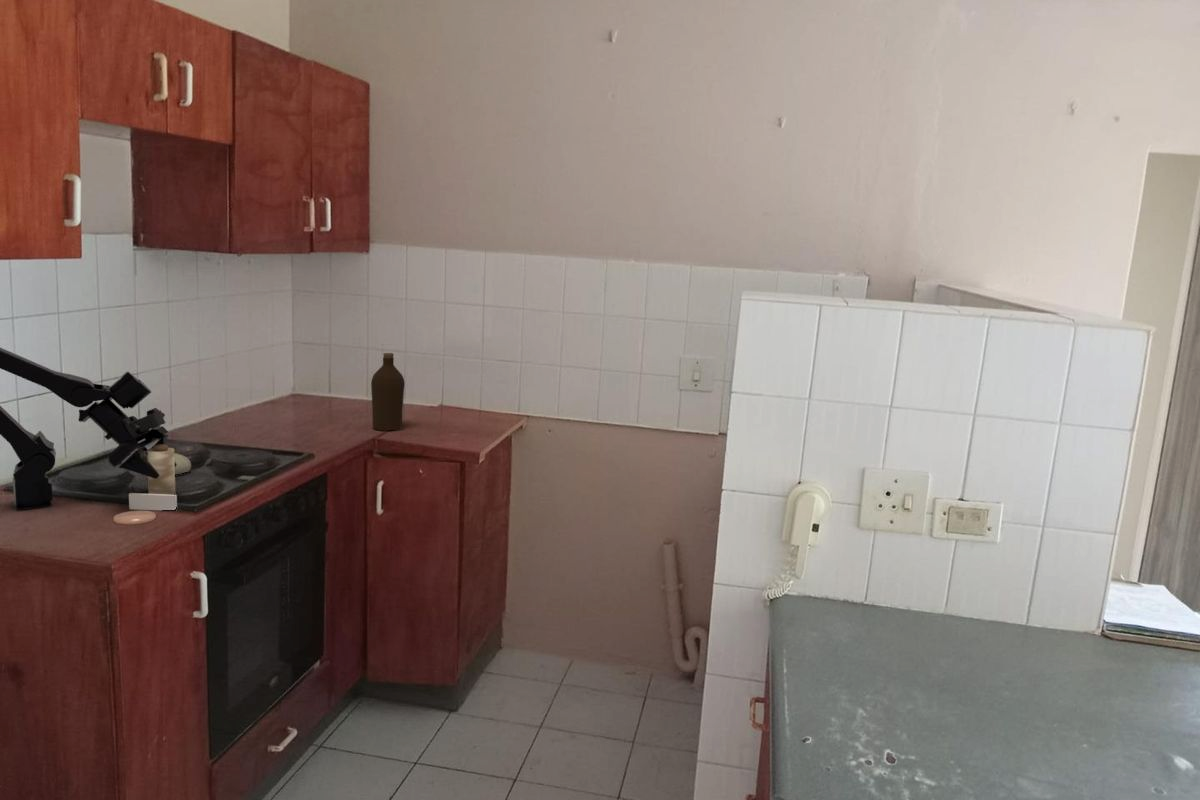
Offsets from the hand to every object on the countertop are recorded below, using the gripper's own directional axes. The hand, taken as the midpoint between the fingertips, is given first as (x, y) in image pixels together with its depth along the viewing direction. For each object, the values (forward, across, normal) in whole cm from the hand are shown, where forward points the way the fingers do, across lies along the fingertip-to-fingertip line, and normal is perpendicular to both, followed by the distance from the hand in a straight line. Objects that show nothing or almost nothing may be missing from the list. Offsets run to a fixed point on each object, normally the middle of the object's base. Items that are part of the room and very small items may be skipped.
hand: (166, 472), depth 201 cm
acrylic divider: (+5, -7, +5) cm, 10 cm away
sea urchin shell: (-1, +24, +12) cm, 26 cm away
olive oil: (+29, +87, -19) cm, 94 cm away
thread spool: (+4, 0, +6) cm, 7 cm away
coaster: (+4, -14, +6) cm, 15 cm away
